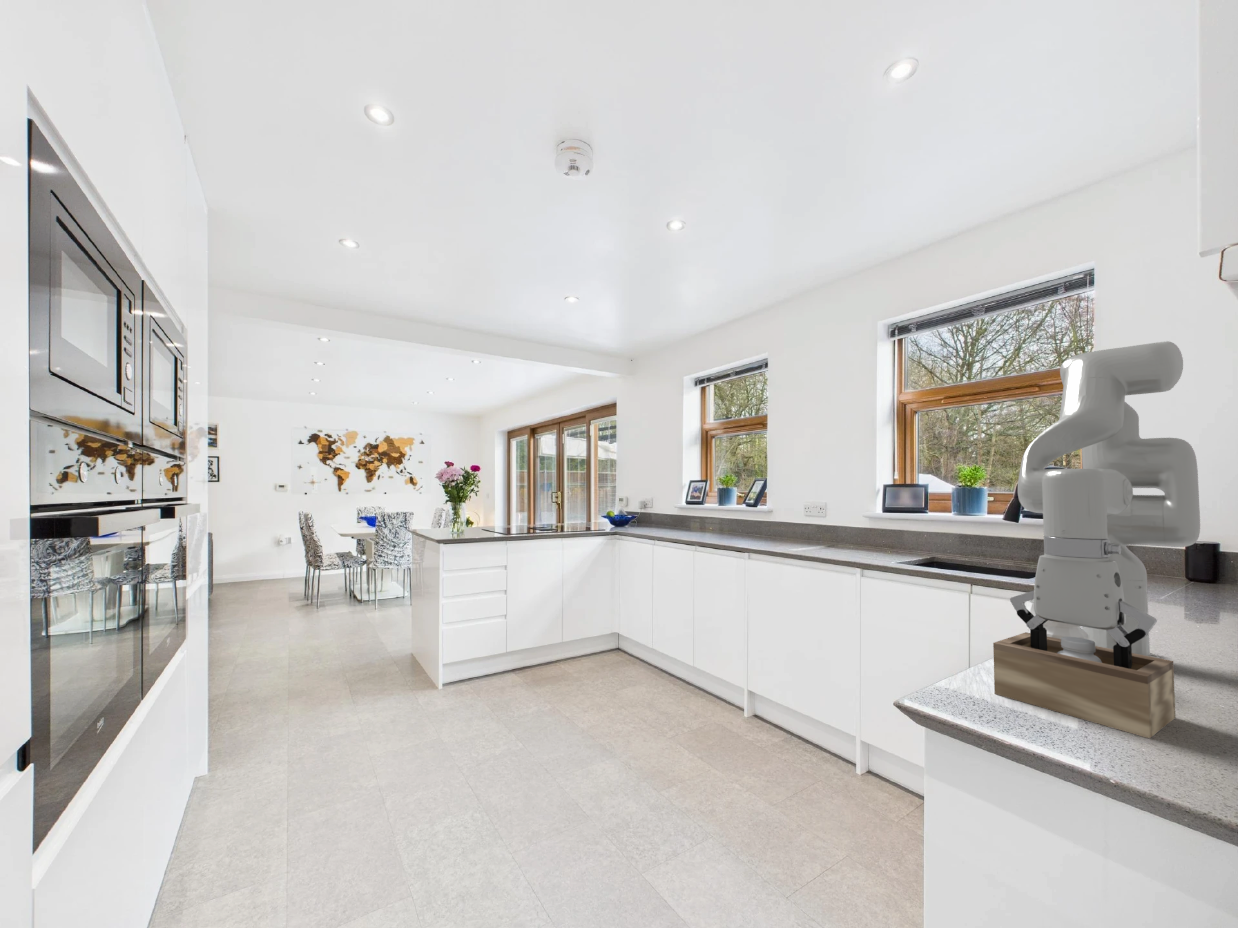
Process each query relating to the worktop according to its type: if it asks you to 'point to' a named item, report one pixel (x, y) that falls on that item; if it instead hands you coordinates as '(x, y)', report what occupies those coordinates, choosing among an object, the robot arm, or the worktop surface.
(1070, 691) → the wooden box
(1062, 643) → the supplement bottle
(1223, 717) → the worktop surface
